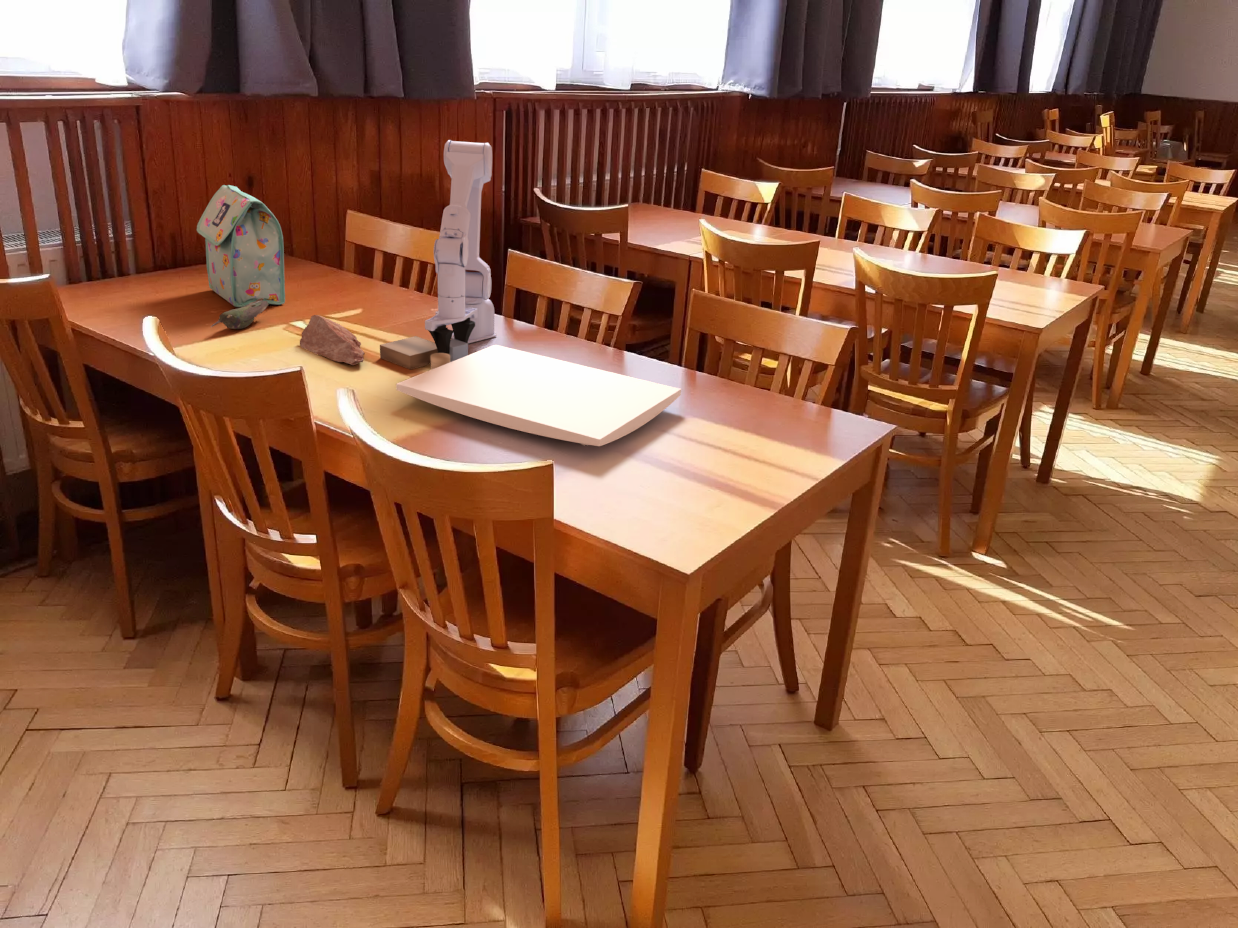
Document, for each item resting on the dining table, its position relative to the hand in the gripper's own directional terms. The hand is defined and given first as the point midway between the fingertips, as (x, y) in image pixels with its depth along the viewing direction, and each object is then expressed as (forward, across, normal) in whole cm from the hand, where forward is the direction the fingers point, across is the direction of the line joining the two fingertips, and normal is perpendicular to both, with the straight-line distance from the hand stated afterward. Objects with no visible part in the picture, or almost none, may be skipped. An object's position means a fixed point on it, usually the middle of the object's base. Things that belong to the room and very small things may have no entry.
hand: (452, 355), depth 213 cm
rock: (+2, +11, -22) cm, 24 cm away
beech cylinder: (+2, +10, +6) cm, 11 cm away
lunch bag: (+2, -3, -72) cm, 72 cm away
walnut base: (+1, +4, -8) cm, 9 cm away
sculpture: (+2, +14, -52) cm, 54 cm away
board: (+2, +9, +31) cm, 32 cm away
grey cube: (+1, 0, 0) cm, 1 cm away
